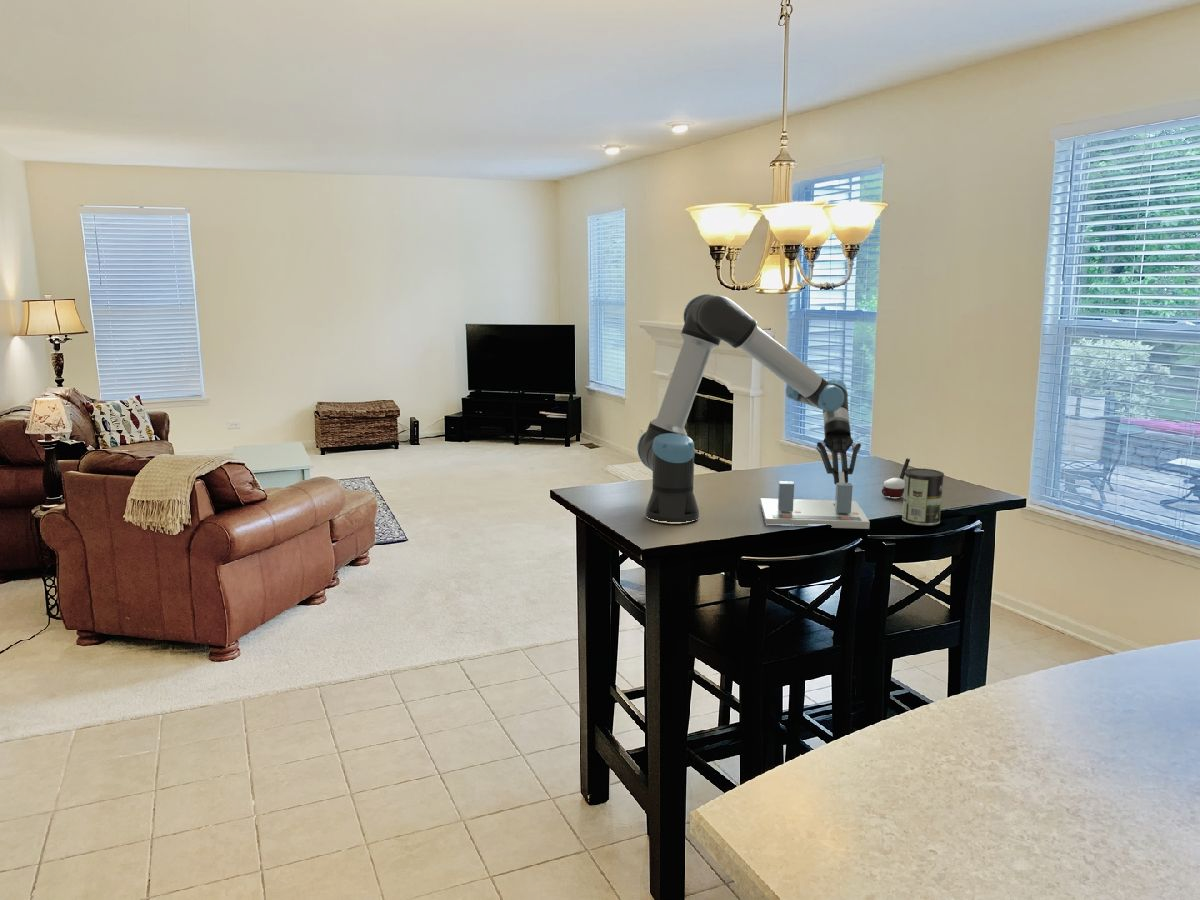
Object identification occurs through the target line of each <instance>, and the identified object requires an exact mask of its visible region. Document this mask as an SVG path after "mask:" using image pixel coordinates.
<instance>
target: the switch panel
mask: <svg viewBox="0 0 1200 900" xmlns="http://www.w3.org/2000/svg"><path fill="white" fill-rule="evenodd" d="M759 505H760V508H762V509H761V511H762V512H763V513H762V512H761V513H762V517H763V516H764V517H763V520H764V519H765V521H764V524H765V523H766V524H791V525H792V524H793V525H808V524H826V525H831V526H832V527H831V528H832V529H833V528H834V529H861V530H862V529H863V530H864V529H865V530H870V524H871V522H870V520H869V519H868V517H867V516H866V514H865V512H864V511H863V510H862V508H861V506H860V505H859V504H858V502H857V501H856V500H852V503H851V513H836V511H835V499H834V500H832V499H831V500H830V499H829V500H828V499H803V498H802V499H800V498H799V499H797V498H796V499H795V498H794V500H793V511H778V498H769V497H768V498H765V497H764V498H762V497H761V498H760V503H759Z"/></svg>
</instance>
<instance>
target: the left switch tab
mask: <svg viewBox="0 0 1200 900" xmlns="http://www.w3.org/2000/svg"><path fill="white" fill-rule="evenodd" d="M777 491H778V495H777V499H778V511H793V500H794V499H795V498H794V497H795V483H794V481H790V480H787V481H786V480H784V481H781V480H779V481H778V490H777Z"/></svg>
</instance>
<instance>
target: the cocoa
mask: <svg viewBox="0 0 1200 900" xmlns="http://www.w3.org/2000/svg"><path fill="white" fill-rule="evenodd" d="M910 462H911V458H908V457H907V458H906V459H905V461H904V464H903V467H902V470H901V473H900V476H899V477H891V478H889V479H886V480H885V481H884V482H883V487H882V489H881V494H882V495H883V496H884V497H885V496H890V497H901V496H902V497H904V486H905V471H906V470H908V467H909V465H910ZM902 497H901V498H902Z"/></svg>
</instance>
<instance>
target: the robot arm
mask: <svg viewBox="0 0 1200 900" xmlns="http://www.w3.org/2000/svg"><path fill="white" fill-rule="evenodd" d="M683 322H684V325H683V327H682V330H681V333H680V335H681V338H682V340H683V343H682V346H681V349H680V351H679V353H678V357H677V360H676V362H675V365H674V367H673V371H672V374H671V377H670V380H669V382H668V385H667V388H666V391H665V394H664V396H663V399H662V403H661V406H660V408H659V410H658V414H657V416H656V418H654V419H652V420H650V421H649V423H648V426H647V429H646V431H645V432H644V433H643V434H642V435H640V437H639V440H638V443H637V445H636V447H637V449H636V450H637V455H638V457H639V459H640V461H641V462H642V464H643V465H644V466H645V467H647V468H648V469H649V470H651V471H652V490H651V493H650V497H649V500H648V503H647V505H646V509H645V517H646V516H647V517H648V518H650V519H654V520H658V521H667V522H686V521H692V520H696V519H698V518H700V510H699V507H698V503H697V500H696V496H695V494H694V480H695V479H694V476H695V475H694V474H695V454H696V450H695V442H694V441H693V439H692V438H691V437H689V436H688V433H687V430H686V429H685V426H686V424H687V420H688V417H689V415H690V412H691V410H692V407H693V403H694V400H695V398H696V395H697V392H698V389H699V387H700V384H701V381H702V379H703V375H704V372H705V369H706V368H707V364H708V361H709V358H710V356H711V353H712V351H713V350H715V349H716V348H717V349H718V348H719V346H720V344H721V341H724V342H725V343H727V344H728V345H730V346H731V347H732V348H734V349H741V350H742V351H744V352H745V353H746V354H748V355H749V356H751V357H752V358H753V359H754V360H755V361H757V362H758V363H759V364H761V365H762V366H763V367H765V368H766V369H767V370H769V371H770V372H771V373H773V374H774V375H775V376H776V377H778V378H779V379H780V380H782V382H784V383H786V387H785V394H786V397H787V398H788V399H791V400H793V401H794V402H799V403H802V404H805V405H807V406H811V407H814V408H817V409H819V410H821V411H822V414H823V430H824V432H823V433H824V438H823V441H820V442H819V441H818V442H817V443H816V447H815V448H816V450H817V452H819V454H820V458H821V460H822V463H823V465H824V468H825V472H826V474H829V475H830V474H831V475H832V476H833V484H834V485H836V483H849V475H853V473H854V470H855V466H856V462H857V460H856V459H857V457H858V456H857V455H858V453H859V452H860V450H861V447H862V444H861V443H860V442H859V443H856V442H854V440H853V438H852V436H851V435H852V433H851V426H850V423H851V422H850V421H851V420H850V413H849V396H848V389H847V385H846V383H845V382H844V381H842V379H837V378H835V379H833V378H831V379H828V380H826V378H823V377H822V376H821V375H820V374H818V373H817V372H816V371H815V370H813V369H812V368H811V367H809V365H807V364H806V363H805V362H803V361H802V360H801V359H800V358H798V357H797V356H796V355H794V354H793V353H792V352H790V351H789V350H788V349H787V348H786V347H785V346H783V345H782V344H780V343H779V342H778V341H777V340H775V339H774V338H773V337H771V336H770V335H769V334H768V333H767V332H765V331H764V330H763V329H762V328H760V327H759V326H758V322H757V320H756V319H755V318H754V317H752V316H751V315H750V314H749V313H747V312H746V311H745V310H744V309H743V308H742V307H741V306H740V305H738V304H737V303H736V302H735V301H733V300H732V299H730V297H729V298H728V297H726V296H723V295H715V294H709V293H708V294H707V293H706V294H705V293H704V294H701V295H698V296H695V297H694V298H692V299H691V300H689V301H688V303H687V305H685V308H684V310H683ZM826 448H827V449H828V450H829V452H830V453H831V461H830V458H829V455H828V453H827V449H826ZM850 448H851V451H852V454H851V457H850V458H851V459H850V464H849V466H848V458H847V451H849V450H850ZM838 454H839V455H840V461H841V463H840V464H841V471H839V470H840V469H839V458H838V456H839V455H838ZM831 462H832V463H831ZM698 520H699V519H698Z"/></svg>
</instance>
